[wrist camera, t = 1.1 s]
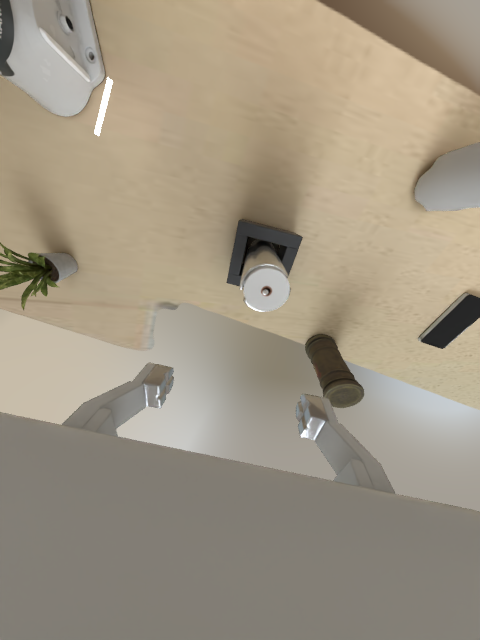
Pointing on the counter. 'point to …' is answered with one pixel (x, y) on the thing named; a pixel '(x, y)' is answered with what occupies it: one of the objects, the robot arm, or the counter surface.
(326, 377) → the container
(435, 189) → the bottle
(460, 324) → the smartphone
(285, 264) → the box
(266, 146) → the counter surface
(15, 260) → the house plant
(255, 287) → the silver tall cylinder
